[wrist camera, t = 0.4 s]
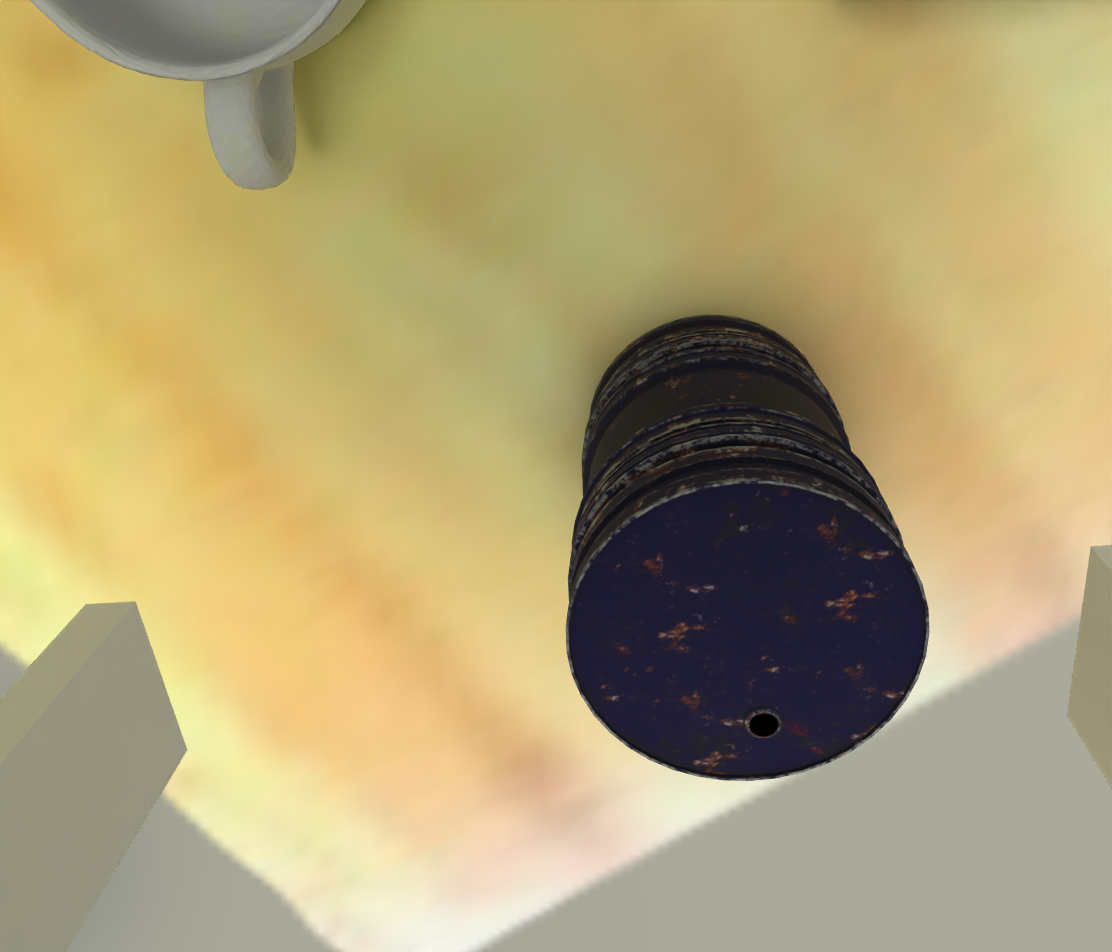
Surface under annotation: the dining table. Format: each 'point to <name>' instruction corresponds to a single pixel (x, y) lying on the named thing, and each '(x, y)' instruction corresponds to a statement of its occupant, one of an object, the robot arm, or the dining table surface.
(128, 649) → the robot arm
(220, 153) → the teacup
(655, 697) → the dark blue barrel
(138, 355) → the dining table surface
